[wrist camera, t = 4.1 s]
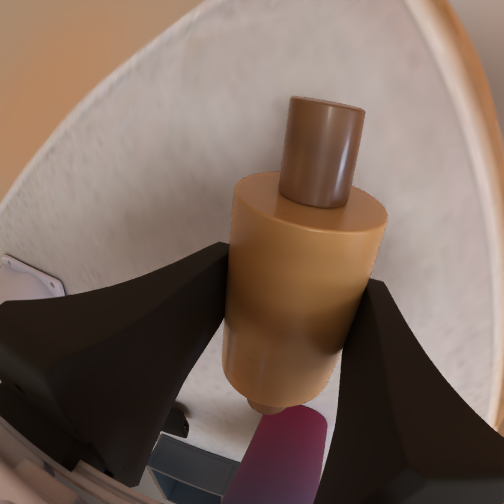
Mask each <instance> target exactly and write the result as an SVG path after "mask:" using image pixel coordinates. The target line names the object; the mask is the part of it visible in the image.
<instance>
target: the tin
mask: <svg viewBox="0 0 504 504" xmlns="http://www.w3.org/2000/svg"><path fill="white" fill-rule="evenodd" d="M239 465H240V463H239V462H236V461H233V460H230V459H227V458H224V457H221V456H218V455H215V454H212V453H209V452H207V451H204V450H201V449H198V448H196V447H193V446H191V445H188V444H186V443H183V442H181V441H178V440H176V439H173V438H171V437H169V436H166V435H164V434H162V436H161V438H160V439H159V441H158V443H157V444H156V446H155V448H154V450H153V451H152V453H151V455H150V457H149V460H148V462H147V465H146V467H147V469H148V471H149V473H150V475H151V476H152V478H153V480H154V482H155V484H156V485H157V487H158V489H159V491H160V493H161V494H162V496H163V498H164V499H165V500H168V501H170V502H172V503H175V504H220V503H221V501H222V499H223V497H224V495H225V493H226V491H227V489H228V487H229V485H230V483H231V482H232V480H233V478H234V475H235V473H236V471H237V469H238V467H239Z"/></svg>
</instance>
